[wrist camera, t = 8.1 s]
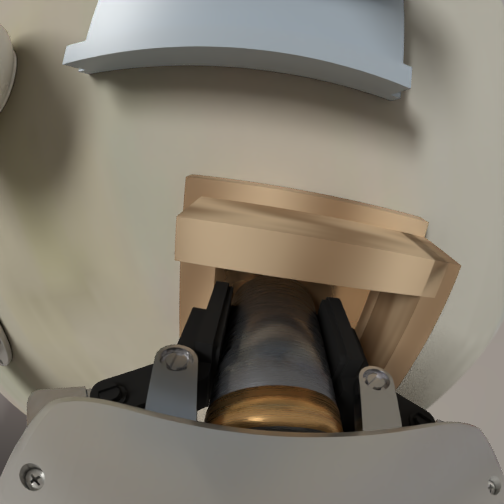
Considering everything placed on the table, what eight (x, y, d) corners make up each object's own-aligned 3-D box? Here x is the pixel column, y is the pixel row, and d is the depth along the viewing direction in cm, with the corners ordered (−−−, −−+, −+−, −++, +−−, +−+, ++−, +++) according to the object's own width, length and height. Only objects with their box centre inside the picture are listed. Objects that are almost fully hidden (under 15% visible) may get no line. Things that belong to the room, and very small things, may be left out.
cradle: (184, 337, 17) (163, 389, 12) (191, 174, 13) (155, 190, 9) (364, 359, 16) (380, 410, 12) (419, 217, 13) (467, 247, 8)
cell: (234, 267, 12) (189, 449, 4) (324, 280, 12) (378, 455, 4) (226, 337, 13) (194, 495, 6) (303, 347, 13) (319, 502, 6)
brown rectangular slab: (212, 327, 14) (209, 336, 13) (220, 245, 12) (216, 252, 11) (341, 343, 14) (344, 353, 13) (369, 268, 12) (375, 276, 11)
